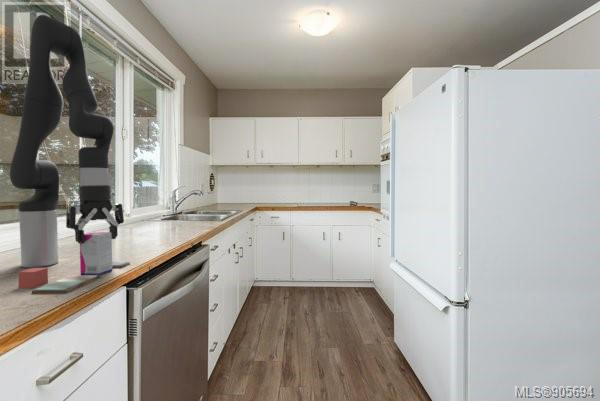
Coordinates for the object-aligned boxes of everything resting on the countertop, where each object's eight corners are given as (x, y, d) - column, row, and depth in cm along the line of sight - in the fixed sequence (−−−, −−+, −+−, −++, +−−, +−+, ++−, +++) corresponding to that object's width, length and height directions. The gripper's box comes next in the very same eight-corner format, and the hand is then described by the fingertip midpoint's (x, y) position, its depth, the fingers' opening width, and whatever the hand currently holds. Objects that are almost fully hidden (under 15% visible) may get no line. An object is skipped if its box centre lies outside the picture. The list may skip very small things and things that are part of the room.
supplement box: (113, 270, 94) (112, 231, 94) (98, 276, 88) (97, 235, 88) (95, 269, 95) (94, 231, 94) (79, 275, 89) (78, 234, 88)
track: (66, 293, 74) (66, 289, 74) (31, 293, 74) (31, 290, 74) (129, 263, 102) (129, 261, 102) (104, 264, 102) (104, 261, 102)
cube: (34, 272, 78) (18, 272, 78) (35, 288, 78) (18, 288, 78) (47, 267, 82) (32, 267, 82) (48, 283, 82) (32, 283, 82)
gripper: (113, 184, 99) (115, 236, 99) (59, 184, 87) (62, 244, 87) (126, 184, 95) (129, 238, 95) (72, 184, 83) (75, 246, 83)
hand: (97, 241), depth 91 cm, fingers open, 8 cm apart
